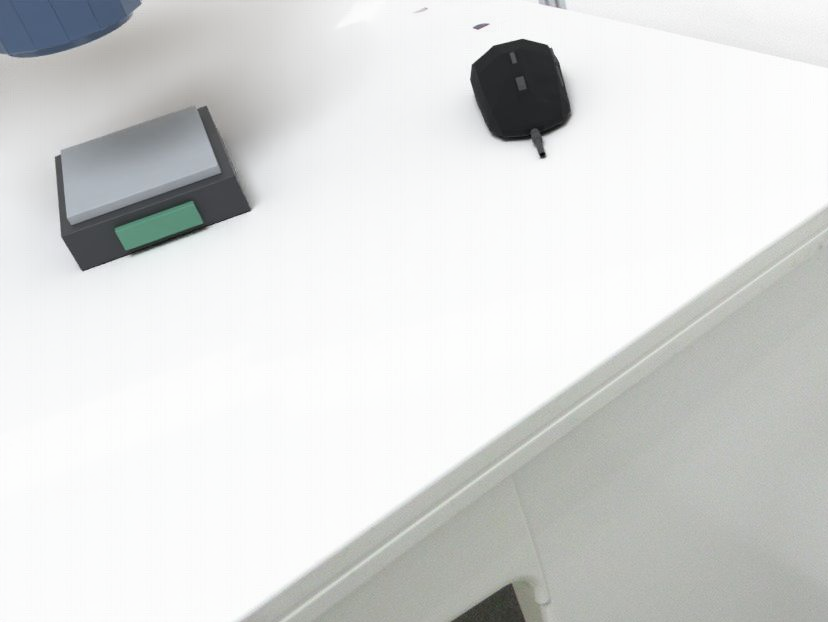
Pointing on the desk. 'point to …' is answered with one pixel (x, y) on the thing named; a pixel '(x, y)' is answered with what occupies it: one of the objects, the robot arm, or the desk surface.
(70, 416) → the desk surface
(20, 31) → the blue faceted tumbler
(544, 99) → the gaming mouse
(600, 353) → the desk surface
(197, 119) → the scale
